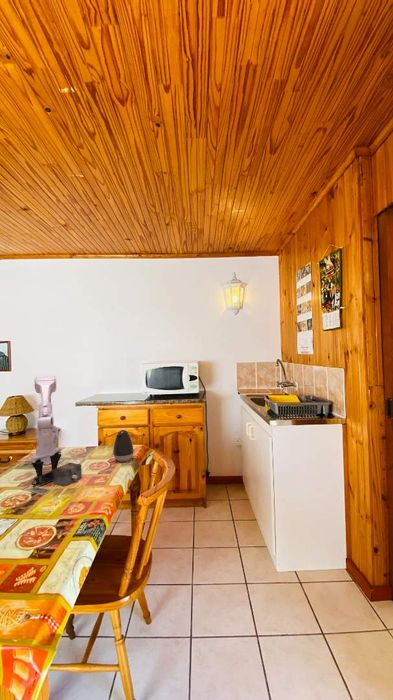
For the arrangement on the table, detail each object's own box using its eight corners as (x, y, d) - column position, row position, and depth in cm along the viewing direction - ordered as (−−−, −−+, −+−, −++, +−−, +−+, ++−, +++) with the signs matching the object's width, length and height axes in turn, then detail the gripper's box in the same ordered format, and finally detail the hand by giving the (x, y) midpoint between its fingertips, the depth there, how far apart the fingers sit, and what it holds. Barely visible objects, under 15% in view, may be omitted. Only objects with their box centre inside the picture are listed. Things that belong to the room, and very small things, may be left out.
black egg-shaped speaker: (109, 462, 158) (108, 432, 158) (120, 456, 168) (119, 427, 168) (127, 464, 155) (126, 433, 155) (137, 457, 165) (136, 428, 165)
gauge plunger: (32, 488, 130) (31, 478, 130) (70, 471, 148) (69, 462, 148) (54, 493, 124) (53, 483, 124) (90, 474, 142) (90, 465, 142)
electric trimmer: (68, 474, 146) (68, 467, 146) (36, 486, 133) (36, 479, 133) (63, 473, 148) (63, 466, 148) (31, 485, 135) (31, 477, 135)
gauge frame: (21, 489, 130) (20, 475, 130) (57, 473, 146) (56, 460, 146) (47, 495, 123) (46, 480, 123) (81, 478, 140) (81, 464, 140)
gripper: (38, 448, 134) (39, 480, 134) (65, 439, 147) (66, 468, 147) (26, 447, 137) (27, 478, 137) (54, 438, 150) (55, 467, 150)
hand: (47, 473), depth 142 cm, fingers open, 7 cm apart
